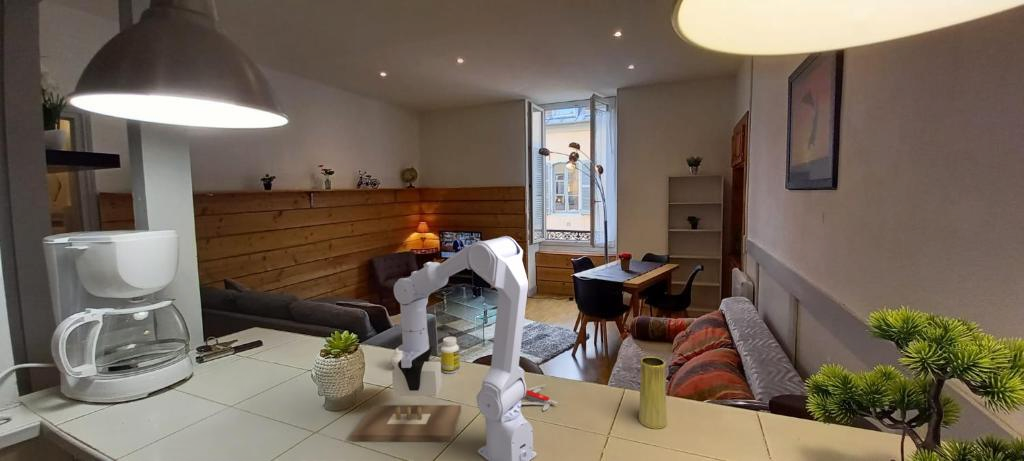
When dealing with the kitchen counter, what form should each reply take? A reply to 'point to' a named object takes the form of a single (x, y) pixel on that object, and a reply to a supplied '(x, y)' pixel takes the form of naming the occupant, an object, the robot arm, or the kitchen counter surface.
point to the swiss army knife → (537, 398)
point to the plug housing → (428, 381)
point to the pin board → (408, 423)
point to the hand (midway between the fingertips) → (417, 383)
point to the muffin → (396, 357)
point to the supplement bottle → (450, 355)
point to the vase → (652, 393)
